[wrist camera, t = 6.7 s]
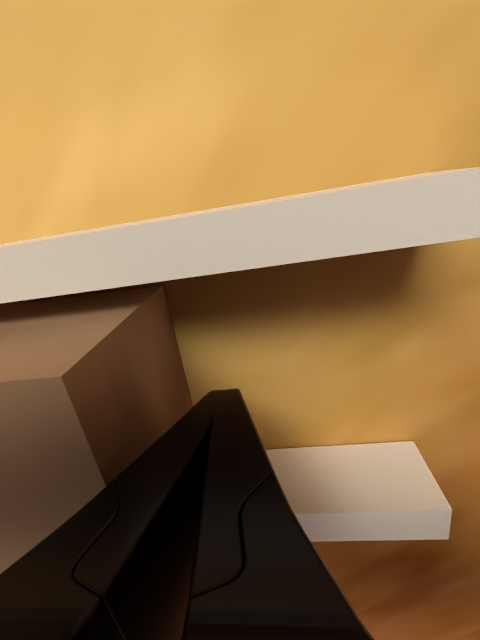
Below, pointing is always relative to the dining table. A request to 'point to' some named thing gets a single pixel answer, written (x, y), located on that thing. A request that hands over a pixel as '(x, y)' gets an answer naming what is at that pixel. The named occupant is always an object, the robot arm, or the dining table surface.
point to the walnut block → (79, 402)
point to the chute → (270, 250)
